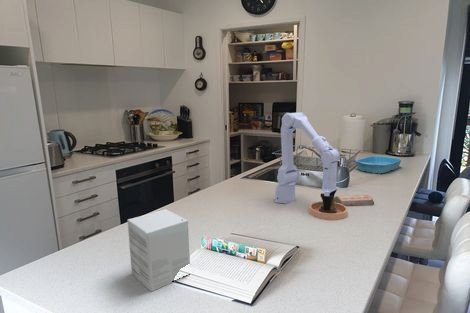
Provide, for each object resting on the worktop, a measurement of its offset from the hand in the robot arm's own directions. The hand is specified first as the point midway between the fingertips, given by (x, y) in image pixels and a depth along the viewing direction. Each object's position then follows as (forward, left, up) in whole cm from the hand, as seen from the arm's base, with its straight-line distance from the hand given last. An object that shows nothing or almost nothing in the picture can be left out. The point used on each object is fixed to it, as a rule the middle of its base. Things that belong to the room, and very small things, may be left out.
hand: (328, 207), depth 141 cm
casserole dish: (+20, +99, -4) cm, 101 cm away
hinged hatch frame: (0, 0, -3) cm, 3 cm away
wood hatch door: (0, 0, -3) cm, 3 cm away
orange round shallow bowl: (0, 0, -4) cm, 4 cm away
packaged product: (+9, +17, -4) cm, 20 cm away
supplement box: (-40, -67, -4) cm, 78 cm away
